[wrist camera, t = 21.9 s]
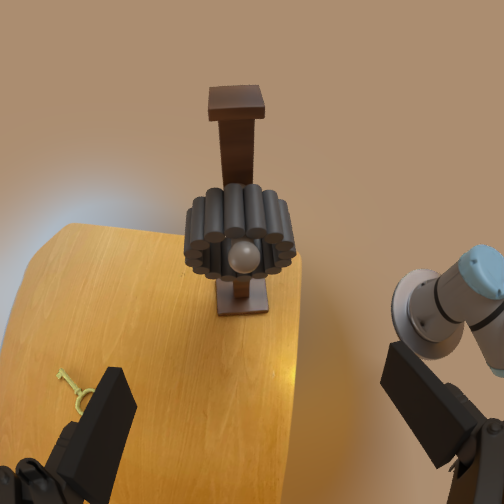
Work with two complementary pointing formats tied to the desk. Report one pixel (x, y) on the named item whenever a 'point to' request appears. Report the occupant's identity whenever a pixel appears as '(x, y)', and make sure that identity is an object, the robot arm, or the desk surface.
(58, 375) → the key
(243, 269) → the brown pillar stand
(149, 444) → the desk surface
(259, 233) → the grey cylinder ring
